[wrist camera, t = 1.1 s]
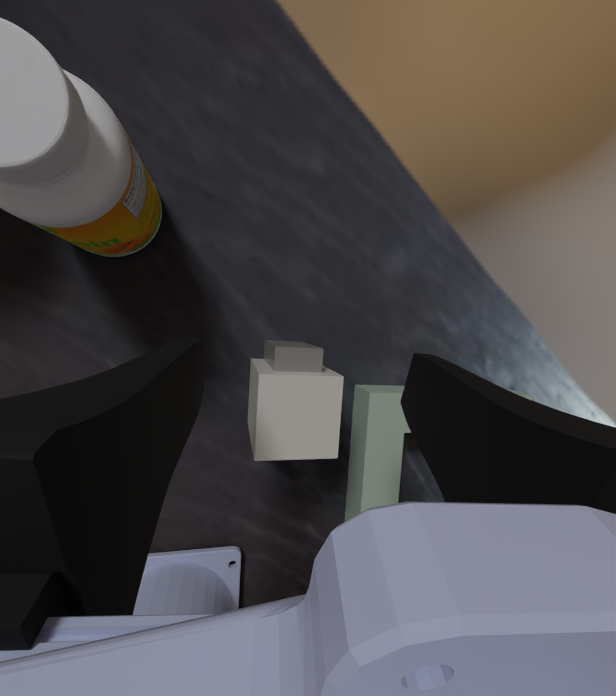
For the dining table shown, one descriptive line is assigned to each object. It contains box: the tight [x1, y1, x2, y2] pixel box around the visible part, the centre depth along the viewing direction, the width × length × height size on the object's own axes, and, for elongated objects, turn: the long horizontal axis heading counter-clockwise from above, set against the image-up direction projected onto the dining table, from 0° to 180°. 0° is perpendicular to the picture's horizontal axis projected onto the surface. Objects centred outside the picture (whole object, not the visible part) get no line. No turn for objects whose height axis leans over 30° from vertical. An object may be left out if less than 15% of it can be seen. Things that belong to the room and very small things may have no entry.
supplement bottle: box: [0, 18, 162, 257], centre depth 14 cm, size 5×5×10 cm
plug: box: [248, 340, 344, 461], centre depth 18 cm, size 5×4×6 cm
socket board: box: [345, 385, 533, 522], centre depth 23 cm, size 13×12×2 cm
